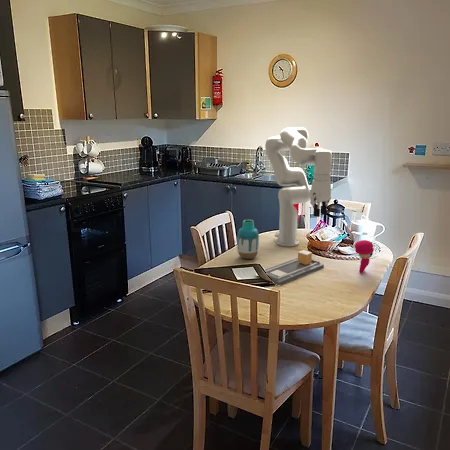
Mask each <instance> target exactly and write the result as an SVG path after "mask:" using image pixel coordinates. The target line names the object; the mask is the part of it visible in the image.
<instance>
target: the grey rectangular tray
mask: <svg viewBox="0 0 450 450" xmlns="http://www.w3.org/2000/svg"><path fill="white" fill-rule="evenodd" d="M324 265H325V264H324V263H321V262H320V260H317V259H313V258H312V261H311V263H310V264H307V265H305V264H302V263H299V262H298V257H296V258H294V259H291V260H288V261H285V262H283V263H279V264H277V265H273V266H272V267H269V268H266V269H263V270H264V271H265V272H266V274H267V275H268V276H269V277H270V278H271V279H272V281H273V282H274V283H275V284H274V285H276V284H277V285H276V286H278V285H280V286H282V285H284V284H287V283H289V282H291V281H294V280H297V279H299V278H301V277H304V276H306V275H309V274H311V273H314V272H316V271H319V270H321V269H324Z"/></svg>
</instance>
